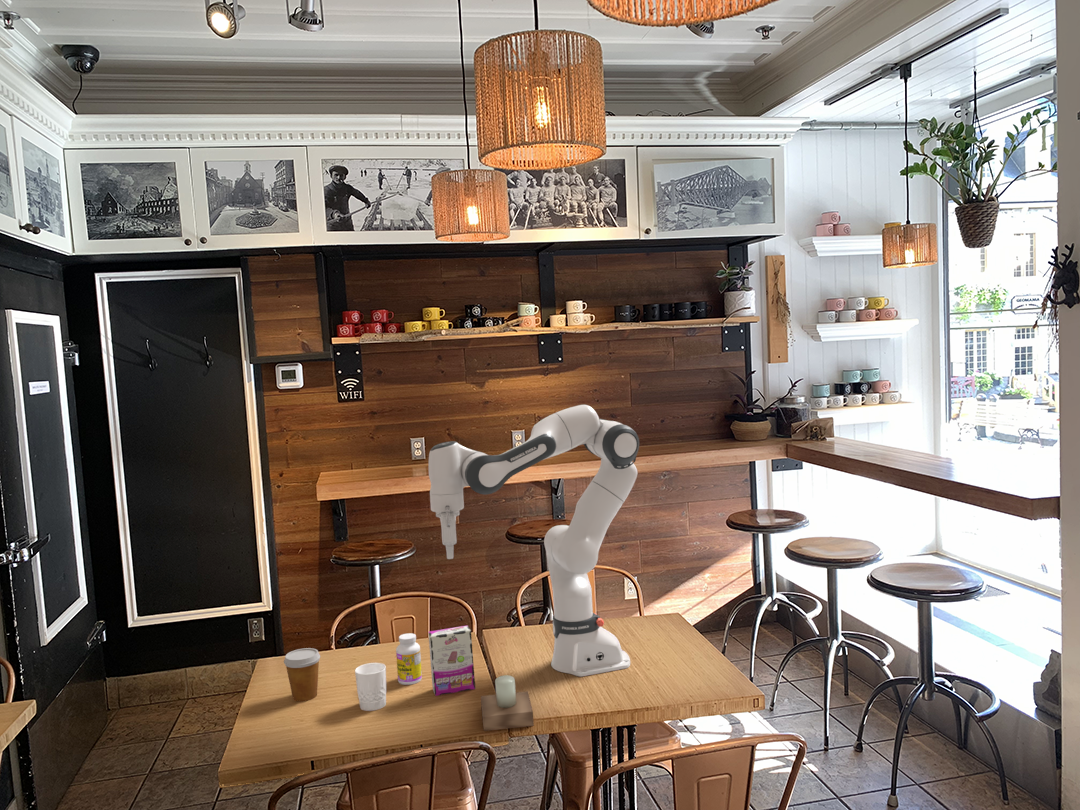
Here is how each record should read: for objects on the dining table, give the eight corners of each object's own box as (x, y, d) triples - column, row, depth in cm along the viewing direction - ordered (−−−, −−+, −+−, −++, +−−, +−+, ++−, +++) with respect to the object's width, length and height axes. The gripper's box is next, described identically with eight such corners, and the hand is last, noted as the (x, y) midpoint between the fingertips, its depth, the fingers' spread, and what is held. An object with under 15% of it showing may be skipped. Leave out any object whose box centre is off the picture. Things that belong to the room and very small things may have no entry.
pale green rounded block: (517, 697, 203) (515, 674, 202) (515, 707, 198) (513, 684, 197) (497, 697, 203) (496, 675, 202) (496, 708, 199) (494, 685, 198)
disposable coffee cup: (330, 693, 222) (327, 650, 221) (304, 707, 213) (300, 662, 213) (305, 687, 226) (302, 645, 226) (279, 701, 218) (275, 657, 218)
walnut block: (528, 706, 208) (527, 691, 207) (533, 727, 196) (532, 711, 196) (481, 711, 206) (480, 696, 206) (484, 733, 194) (483, 716, 194)
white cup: (351, 706, 212) (349, 669, 212) (377, 696, 218) (374, 660, 217) (368, 715, 207) (365, 676, 206) (394, 704, 212) (391, 667, 211)
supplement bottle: (393, 683, 226) (390, 638, 225) (407, 674, 232) (404, 630, 231) (412, 687, 223) (409, 641, 222) (426, 678, 228) (423, 633, 228)
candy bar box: (472, 682, 223) (468, 624, 222) (475, 689, 219) (472, 630, 218) (431, 689, 220) (427, 630, 219) (434, 697, 216) (430, 636, 214)
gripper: (460, 509, 207) (463, 562, 207) (458, 495, 227) (460, 544, 228) (435, 511, 206) (438, 564, 207) (435, 497, 226) (438, 546, 227)
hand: (450, 554), depth 217 cm, fingers open, 8 cm apart
